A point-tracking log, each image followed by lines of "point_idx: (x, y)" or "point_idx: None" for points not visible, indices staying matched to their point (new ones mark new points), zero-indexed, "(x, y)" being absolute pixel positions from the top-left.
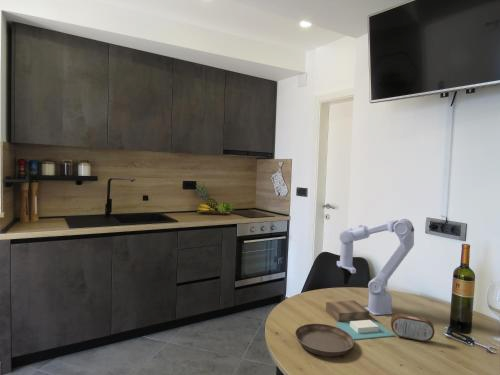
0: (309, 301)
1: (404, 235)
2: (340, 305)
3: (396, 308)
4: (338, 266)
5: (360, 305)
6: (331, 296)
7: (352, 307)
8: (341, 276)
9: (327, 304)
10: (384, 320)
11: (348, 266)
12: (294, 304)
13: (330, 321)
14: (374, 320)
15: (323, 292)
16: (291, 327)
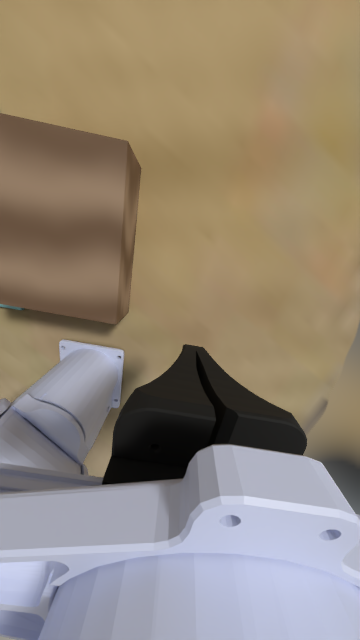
0: (276, 158)
1: None
2: (67, 205)
3: (103, 432)
4: (255, 448)
5: (55, 310)
6: (270, 314)
7: (35, 254)
8: (216, 371)
9: (110, 140)
10: (24, 343)
11: (52, 608)
12: (287, 4)
13: (24, 102)
14: (13, 307)
15: (324, 310)
16: None
